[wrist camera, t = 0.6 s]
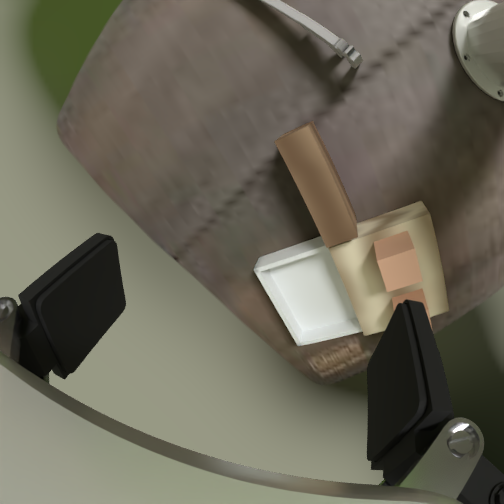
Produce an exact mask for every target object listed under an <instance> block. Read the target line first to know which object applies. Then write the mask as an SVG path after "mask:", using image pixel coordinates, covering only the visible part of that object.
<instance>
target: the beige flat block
mask: <svg viewBox="0 0 504 504" xmlns="http://www.w3.org/2000/svg"><path fill="white" fill-rule="evenodd" d="M357 231H358V237H357V238H354V239H352V240H349V241H346V242H343V243H340V244H337V245H334V246H331V247H329V248H328V249H329V251H330V253H331V256H332V258H333V260H334V262H335V265H336V267H337V269H338V272H339V274H340V276H341V279H342V281H343V284H344V286H345V288H346V291H347V293H348V296H349V298H350V301H351V303H352V306H353V308H354V311H355V313H356V316H357V318H358V321H359V323H360V326H361V328H362V331H363V334H364V336H366V335H370V334H374V333H378V332H382V331H385V330H386V328H387V325H388V323H389V321H390V319H391V317H392V315H393V313H394V308H393V302H392V298H393V297H396V296H399V295H403V294H406V293H409V292H412V291H415V290H418V289H421V288H422V289H423V292H424V295H425V299H426V302H427V306H428V309H429V314H430V317H432V316H435V315H438V314H441V313H444V312H447V311H449V307H448V300H447V293H446V286H445V280H444V275H443V269H442V264H441V259H440V254H439V249H438V245H437V240H436V236H435V232H434V227H433V223H432V219H431V216H430V213H429V211H428V210H427V208H426V207H425V205H424V204H423V202H422V201H419V202H416V203H413V204H410V205H408V206H405V207H402V208H399V209H396V210H394V211H391V212H388V213H385V214H382V215H379V216H377V217H374V218H371V219H368V220H365V221H362V222H360V223H357ZM404 231H408V233H409V236H410V238H411V240H412V243H413V245H414V248H415V251H416V255H417V259H418V263H419V267H420V271H421V276H422V280H423V281H421V282H418V283H415V284H412V285H409V286H406V287H403V288H400V289H396V290H393V291H390V292H387V290H386V287H385V284H384V281H383V278H382V274H381V271H380V268H379V266H378V263H377V258H376V252H375V247H374V242H375V241H378V240H381V239H384V238H387V237H390V236H393V235H396V234H399V233H402V232H404Z"/></svg>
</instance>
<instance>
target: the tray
mask: <svg viewBox="0 0 504 504" xmlns="http://www.w3.org/2000/svg"><path fill="white" fill-rule="evenodd" d="M328 248H329V247H328ZM328 248H326V246H325V243H324V241H323V239H322V237H321V236H320V237H317V238H314V239H311V240H308V241H305V242H302V243H299V244H297V245H294V246H291V247H288V248H285V249H282V250H279V251H276V252H273V253H271V254H268V255H265V256H262V257H259V259H258V261H257V263H256V265H255V267H254V269H253V270H254V271H255V273H256V275H257V277H258V278H259V280H260V282H261V283H262V285H263V287H264V289H265V290H266V292H267V294H268V296H269V297H270V299H271V301H272V302H273V304H274V306H275V308H276V309H277V311H278V313H279V314H280V316H281V318H282V320H283V321H284V323H285V325H286V327H287V328H288V330H289V332H290V333H291V335H292V337H293V339H294V340H295V342H296V344H297V345H298V346H301V345H306V344H311V343H316V342H320V341H325V340H329V339H333V338H338V337H342V336H346V335H350V334H354V333H358V332H362V328H361V326H360V323H359V321H358V318H357V316H356V313H355V311H354V308H353V306H352V303H351V301H350V298H349V296H348V293H347V291H346V288H345V286H344V284H343V281H342V279H341V276H340V274H339V272H338V269H337V267H336V265H335V262H334V260H333V258H332V256H331V253H330V251H329V249H328Z"/></svg>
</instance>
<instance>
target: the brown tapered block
mask: <svg viewBox="0 0 504 504" xmlns="http://www.w3.org/2000/svg"><path fill="white" fill-rule="evenodd" d="M274 142H275V144H276V146H277V148H278V150H279V151H280V153H281V155H282V157H283V159H284V161H285V163H286V165H287V167H288V169H289V171H290V173H291V175H292V177H293V179H294V181H295V183H296V185H297V187H298V189H299V191H300V193H301V195H302V197H303V199H304V201H305V203H306V205H307V207H308V209H309V211H310V213H311V215H312V218H313V220H314V222H315V224H316V226H317V228H318V230H319V232H320V235H321V237H322V239H323V241H324V243H325V246H326V248H328V247H331V246H334V245H337V244H340V243H343V242H346V241H349V240H352V239H354V238H357V237H358V231H357V222H356V215H355V212H354V210H353V207H352V205H351V203H350V200H349V198H348V195H347V193H346V191H345V188H344V186H343V184H342V182H341V179H340V177H339V175H338V173H337V170H336V168H335V166H334V164H333V162H332V160H331V157H330V155H329V153H328V151H327V149H326V147H325V145H324V143H323V141H322V139H321V137H320V135H319V133H318V131H317V129H316V127H315V125H314V123H313V121H311V122H309V123H307V124H305V125H302V126H300V127H298V128H296V129H294V130H291V131H289V132H287V133H285V134H283V135H282V136H281V137H280V138H278V139H277V140H276V141H274Z"/></svg>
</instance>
